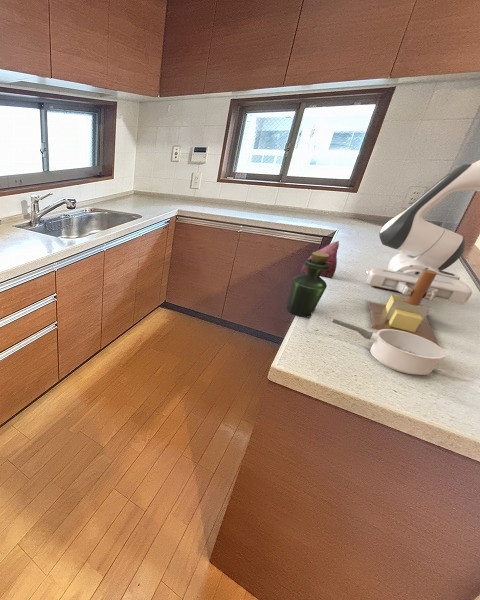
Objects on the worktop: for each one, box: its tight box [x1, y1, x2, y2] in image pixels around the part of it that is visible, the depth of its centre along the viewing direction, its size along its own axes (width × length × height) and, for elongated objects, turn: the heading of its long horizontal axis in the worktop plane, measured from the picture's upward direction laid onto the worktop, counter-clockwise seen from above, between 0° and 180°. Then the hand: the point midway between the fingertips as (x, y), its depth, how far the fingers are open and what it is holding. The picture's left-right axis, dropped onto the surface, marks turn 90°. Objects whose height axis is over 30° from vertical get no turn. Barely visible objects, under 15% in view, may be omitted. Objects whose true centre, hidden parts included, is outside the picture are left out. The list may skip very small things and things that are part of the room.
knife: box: [385, 270, 437, 327], centre depth 84 cm, size 7×3×15 cm, turn 53°
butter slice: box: [389, 309, 422, 332], centre depth 86 cm, size 5×3×4 cm, turn 53°
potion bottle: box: [285, 251, 329, 318], centre depth 92 cm, size 8×8×18 cm
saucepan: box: [331, 318, 446, 376], centre depth 76 cm, size 12×20×6 cm, turn 47°
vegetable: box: [300, 240, 340, 280], centre depth 121 cm, size 10×10×15 cm
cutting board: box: [368, 301, 440, 347], centre depth 90 cm, size 13×20×2 cm, turn 143°
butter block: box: [385, 294, 408, 313], centre depth 92 cm, size 5×8×4 cm, turn 143°
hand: (418, 294), depth 83 cm, fingers closed on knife, 2 cm apart
